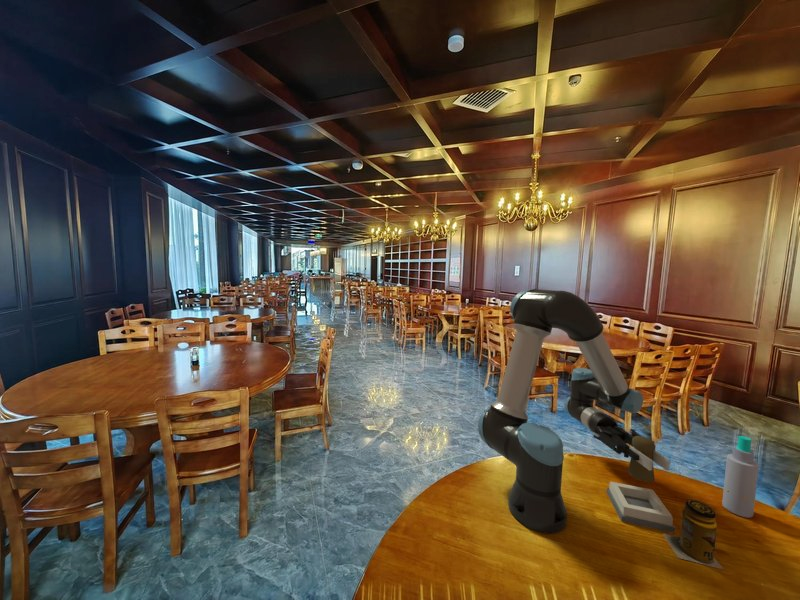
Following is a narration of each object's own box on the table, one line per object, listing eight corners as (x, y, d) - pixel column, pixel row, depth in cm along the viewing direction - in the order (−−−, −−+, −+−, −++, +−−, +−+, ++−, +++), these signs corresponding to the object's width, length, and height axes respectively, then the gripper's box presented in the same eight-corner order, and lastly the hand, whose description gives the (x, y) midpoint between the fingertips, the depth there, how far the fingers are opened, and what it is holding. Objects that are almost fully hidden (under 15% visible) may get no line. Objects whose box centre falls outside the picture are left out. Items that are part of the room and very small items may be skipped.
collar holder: (621, 521, 83) (622, 507, 83) (606, 492, 95) (607, 480, 94) (674, 533, 80) (676, 519, 79) (652, 501, 91) (653, 489, 91)
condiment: (723, 569, 70) (728, 520, 69) (678, 558, 72) (682, 511, 71) (702, 543, 77) (707, 498, 76) (662, 534, 79) (666, 491, 78)
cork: (659, 484, 83) (662, 445, 82) (634, 480, 84) (637, 442, 83) (646, 470, 89) (649, 434, 88) (623, 467, 90) (626, 431, 89)
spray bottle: (755, 522, 84) (764, 446, 82) (724, 511, 88) (731, 438, 86) (749, 509, 89) (757, 437, 87) (720, 499, 92) (727, 430, 91)
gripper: (622, 433, 104) (689, 478, 81) (574, 433, 104) (627, 479, 80) (623, 412, 104) (691, 451, 81) (575, 412, 103) (629, 452, 80)
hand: (659, 465), depth 81 cm, fingers closed on cork, 4 cm apart
